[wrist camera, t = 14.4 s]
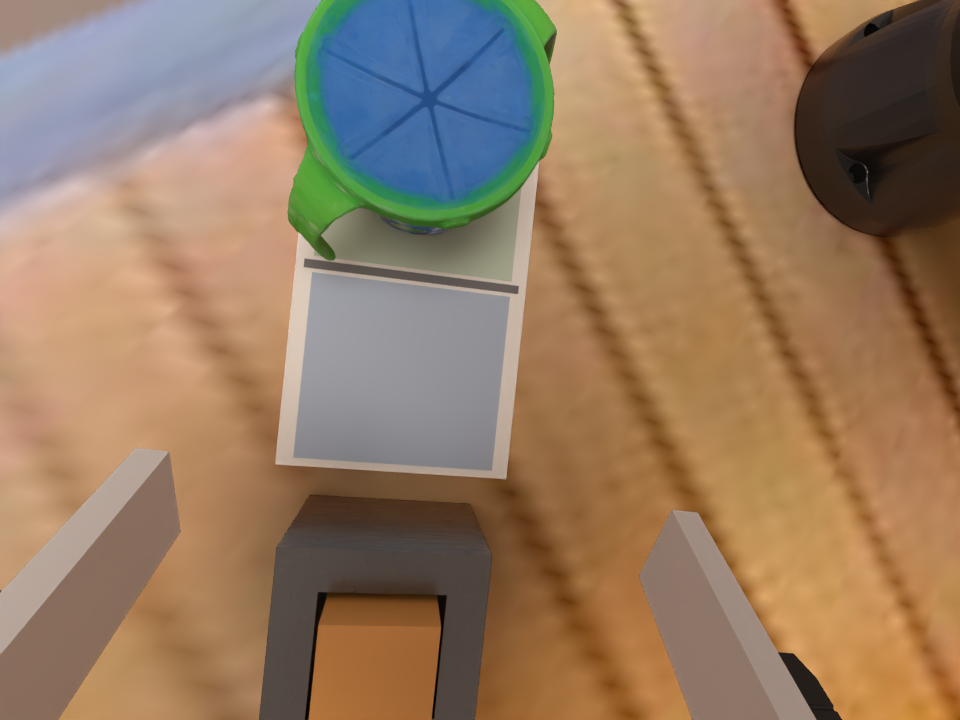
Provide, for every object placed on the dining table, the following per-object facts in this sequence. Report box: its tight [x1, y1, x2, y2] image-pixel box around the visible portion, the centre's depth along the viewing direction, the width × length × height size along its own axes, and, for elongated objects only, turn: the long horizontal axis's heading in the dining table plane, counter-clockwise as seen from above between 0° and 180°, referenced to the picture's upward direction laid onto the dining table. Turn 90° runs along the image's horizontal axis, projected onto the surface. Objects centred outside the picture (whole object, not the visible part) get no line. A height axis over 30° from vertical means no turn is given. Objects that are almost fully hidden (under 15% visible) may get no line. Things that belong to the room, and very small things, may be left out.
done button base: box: [259, 495, 492, 720], centre depth 27 cm, size 10×10×8 cm
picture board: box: [275, 162, 539, 479], centre depth 30 cm, size 14×25×1 cm, turn 174°
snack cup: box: [288, 0, 557, 261], centre depth 24 cm, size 16×10×10 cm
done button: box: [309, 592, 441, 720], centre depth 23 cm, size 5×5×4 cm
